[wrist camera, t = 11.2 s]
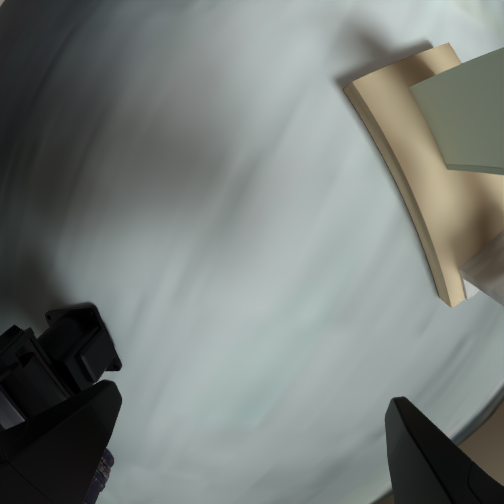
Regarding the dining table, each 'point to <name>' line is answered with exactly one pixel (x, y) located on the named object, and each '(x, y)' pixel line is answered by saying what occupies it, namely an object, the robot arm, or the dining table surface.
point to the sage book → (467, 113)
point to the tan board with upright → (435, 180)
